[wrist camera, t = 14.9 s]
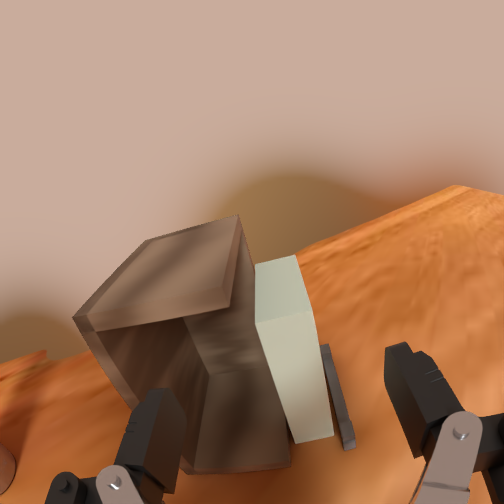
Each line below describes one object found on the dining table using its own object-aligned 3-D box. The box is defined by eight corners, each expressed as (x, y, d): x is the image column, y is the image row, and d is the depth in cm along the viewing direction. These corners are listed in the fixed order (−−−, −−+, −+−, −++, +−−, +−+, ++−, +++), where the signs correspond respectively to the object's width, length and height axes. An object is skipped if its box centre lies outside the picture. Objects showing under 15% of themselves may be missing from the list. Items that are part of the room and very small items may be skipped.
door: (295, 443, 23) (254, 323, 18) (288, 377, 31) (255, 264, 26) (334, 435, 22) (312, 310, 18) (319, 370, 31) (294, 254, 26)
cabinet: (186, 474, 21) (72, 317, 15) (205, 376, 34) (145, 240, 28) (357, 452, 20) (338, 257, 14) (329, 352, 33) (298, 199, 27)
